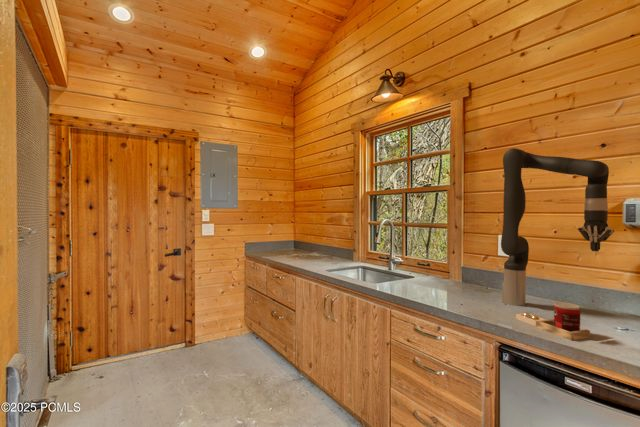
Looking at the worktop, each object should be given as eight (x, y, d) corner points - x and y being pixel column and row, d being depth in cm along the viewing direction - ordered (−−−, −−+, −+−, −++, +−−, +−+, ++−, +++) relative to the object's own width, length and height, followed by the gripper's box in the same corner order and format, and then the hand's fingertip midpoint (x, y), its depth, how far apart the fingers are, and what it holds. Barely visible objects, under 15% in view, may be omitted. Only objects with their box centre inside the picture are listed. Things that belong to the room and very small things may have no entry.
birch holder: (536, 328, 129) (536, 321, 129) (553, 326, 132) (553, 318, 132) (571, 342, 116) (571, 333, 116) (589, 339, 119) (590, 330, 119)
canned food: (562, 329, 128) (563, 301, 128) (585, 337, 121) (585, 306, 121) (548, 332, 126) (549, 303, 126) (570, 339, 118) (571, 309, 118)
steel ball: (520, 319, 139) (520, 311, 138) (526, 318, 139) (526, 311, 139) (527, 321, 136) (527, 314, 136) (532, 320, 137) (532, 313, 137)
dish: (516, 319, 139) (516, 314, 139) (526, 318, 141) (526, 313, 141) (535, 327, 131) (535, 321, 131) (546, 325, 132) (546, 319, 132)
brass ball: (528, 322, 135) (529, 314, 135) (534, 321, 136) (534, 313, 136) (535, 324, 132) (535, 316, 132) (541, 323, 133) (541, 316, 133)
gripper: (572, 209, 143) (572, 249, 144) (607, 209, 131) (606, 253, 131) (585, 209, 146) (584, 249, 146) (620, 209, 133) (619, 252, 133)
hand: (595, 251), depth 138 cm, fingers closed
